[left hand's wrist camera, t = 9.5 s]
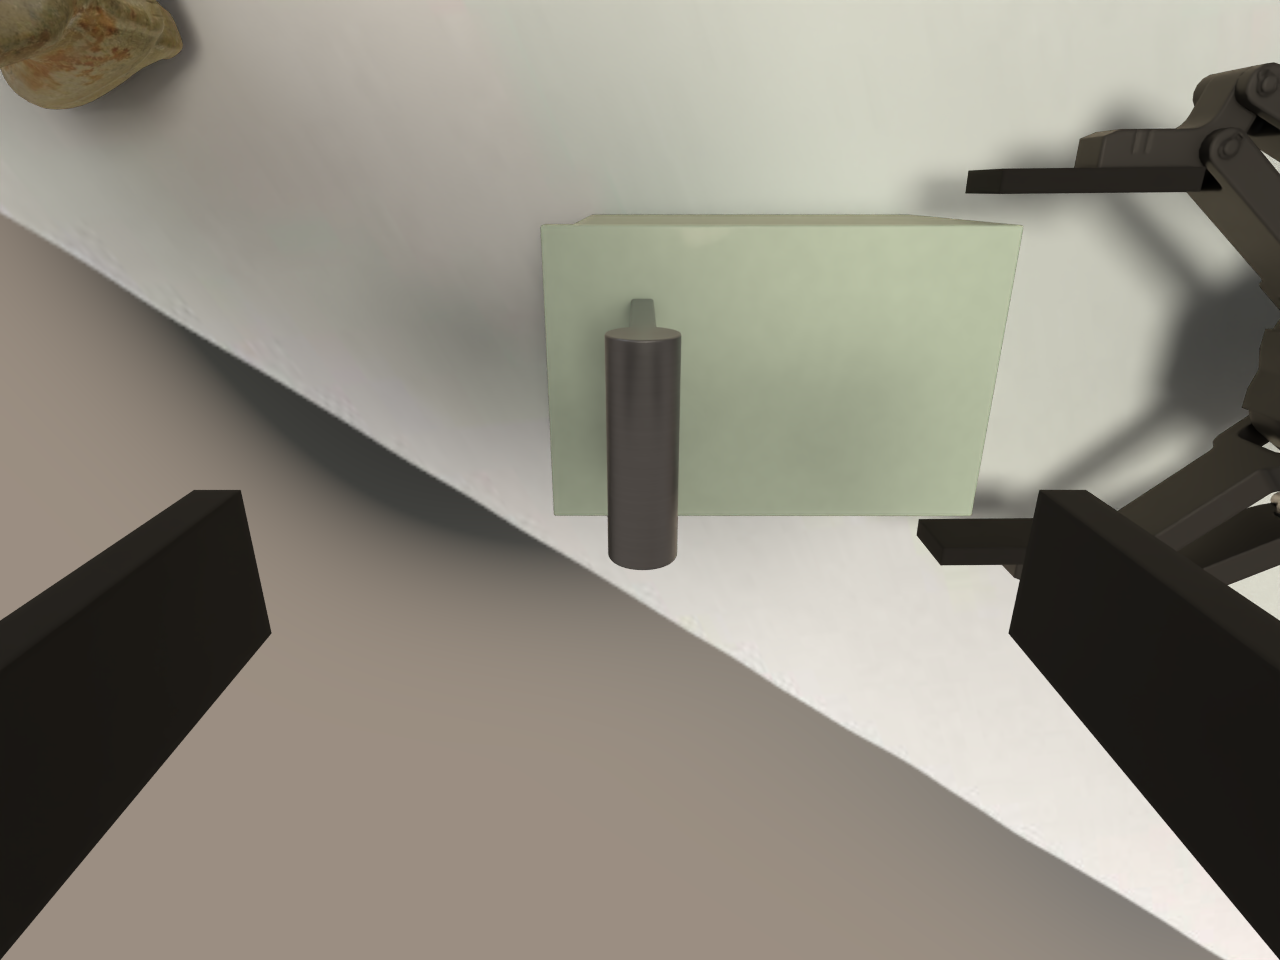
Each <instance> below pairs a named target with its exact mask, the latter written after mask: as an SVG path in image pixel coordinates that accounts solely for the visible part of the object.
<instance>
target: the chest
mask: <svg viewBox="0 0 1280 960" xmlns="http://www.w3.org/2000/svg"><path fill="white" fill-rule="evenodd" d="M575 224H1003V223H992V222H981V221H971V220H960V219H949V218H939V217H928V216H918V215H591V216H589V217H587V218H585V219H583V220H581V221H579V222H577V223H575Z"/></svg>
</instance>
